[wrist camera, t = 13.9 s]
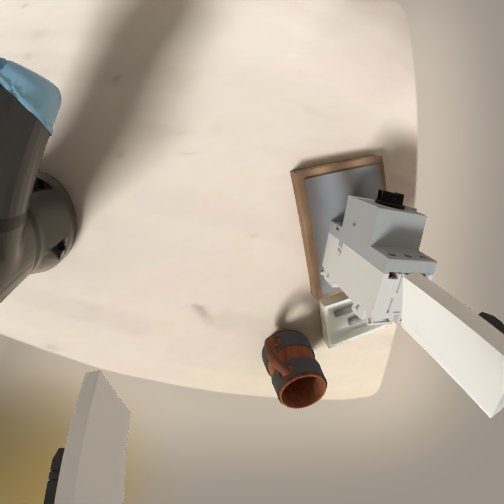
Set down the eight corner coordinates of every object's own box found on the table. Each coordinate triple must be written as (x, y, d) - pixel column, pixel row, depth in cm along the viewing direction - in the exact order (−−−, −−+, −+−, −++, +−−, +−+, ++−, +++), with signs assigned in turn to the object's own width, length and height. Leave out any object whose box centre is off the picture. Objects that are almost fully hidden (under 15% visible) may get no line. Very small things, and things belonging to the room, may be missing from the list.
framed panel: (311, 293, 50) (317, 301, 47) (290, 171, 43) (296, 173, 40) (383, 269, 51) (392, 276, 48) (373, 155, 44) (383, 156, 41)
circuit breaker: (381, 186, 42) (450, 209, 28) (362, 275, 47) (416, 324, 33) (338, 178, 41) (401, 198, 27) (320, 273, 45) (367, 327, 32)
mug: (279, 306, 50) (300, 349, 39) (316, 346, 54) (339, 388, 43) (238, 337, 50) (249, 384, 40) (279, 373, 55) (295, 418, 44)
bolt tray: (323, 339, 54) (328, 348, 51) (318, 299, 50) (324, 306, 48) (380, 318, 55) (386, 326, 52) (379, 278, 51) (387, 284, 49)
